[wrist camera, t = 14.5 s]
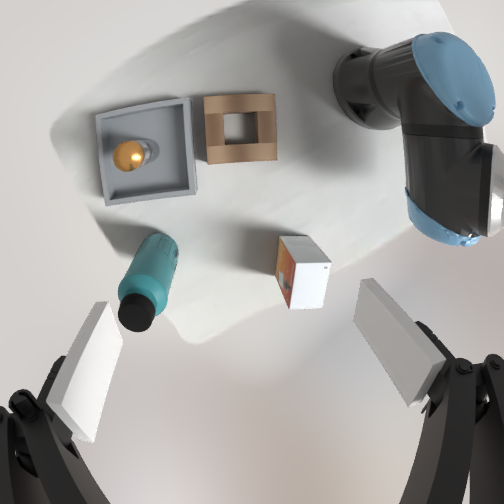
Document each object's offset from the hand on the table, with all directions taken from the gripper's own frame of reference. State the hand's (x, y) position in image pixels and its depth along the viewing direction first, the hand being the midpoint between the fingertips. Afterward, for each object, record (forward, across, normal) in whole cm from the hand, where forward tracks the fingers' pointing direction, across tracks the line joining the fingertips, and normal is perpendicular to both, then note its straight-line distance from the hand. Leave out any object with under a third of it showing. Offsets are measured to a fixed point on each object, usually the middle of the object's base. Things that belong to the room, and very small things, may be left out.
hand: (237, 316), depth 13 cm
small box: (+32, -11, +12) cm, 36 cm away
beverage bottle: (+32, +11, +8) cm, 35 cm away
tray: (+31, +11, -8) cm, 34 cm away
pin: (+30, +11, -8) cm, 33 cm away
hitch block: (+32, -3, -10) cm, 33 cm away
